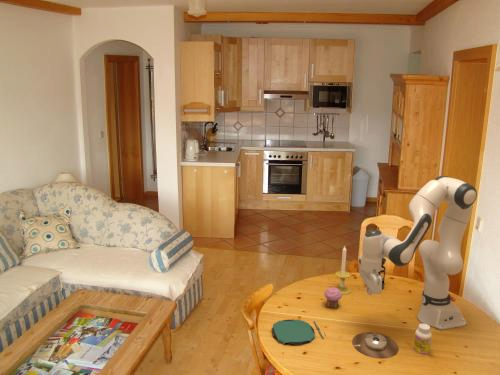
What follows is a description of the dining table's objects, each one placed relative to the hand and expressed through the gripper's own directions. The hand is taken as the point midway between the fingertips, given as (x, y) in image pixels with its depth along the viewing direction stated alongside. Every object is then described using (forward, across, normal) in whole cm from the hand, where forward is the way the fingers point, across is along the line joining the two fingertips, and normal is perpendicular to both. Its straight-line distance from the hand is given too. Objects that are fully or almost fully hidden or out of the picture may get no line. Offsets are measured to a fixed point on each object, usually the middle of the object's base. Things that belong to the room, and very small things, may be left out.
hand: (369, 293), depth 209 cm
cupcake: (+20, +26, +9) cm, 34 cm away
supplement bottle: (+21, -17, -19) cm, 33 cm away
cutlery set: (+20, +2, +30) cm, 36 cm away
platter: (+20, -12, 0) cm, 23 cm away
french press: (+21, +46, -21) cm, 54 cm away
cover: (+19, -12, 0) cm, 22 cm away
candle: (+20, +43, -1) cm, 48 cm away
